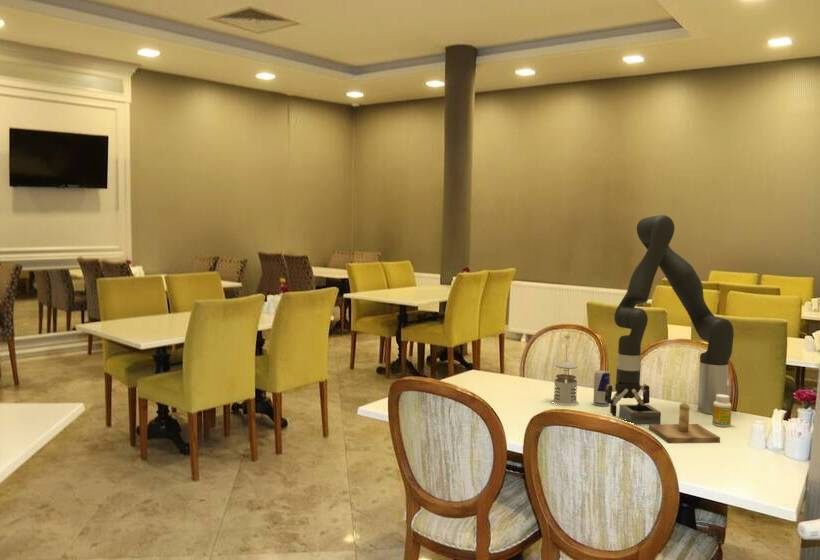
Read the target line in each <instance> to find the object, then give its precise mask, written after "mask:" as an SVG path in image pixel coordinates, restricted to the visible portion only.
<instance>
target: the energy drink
mask: <svg viewBox="0 0 820 560" xmlns="http://www.w3.org/2000/svg"><path fill="white" fill-rule="evenodd" d="M593 376H594V381H593V404H594V406H597V407H608V406H609V405H610V404H609V403H607V402H606V401H605V393H606V385H607V384H609V385H611V384H610V383H611V380H610V379H611V374H610V371H608V370H595V371H594V375H593Z"/></svg>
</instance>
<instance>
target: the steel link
mask: <svg viewBox="0 0 820 560" xmlns="http://www.w3.org/2000/svg"><path fill="white" fill-rule="evenodd" d="M637 404H638V403H637ZM637 404H633V403H632V404H619V410H618V411H619V412H618V416H619V418H621V417H622V418H623V419H622V418H621V419H622V420H624V419H626V421H628V422H631V423H634V424H636V425H637V424H639V425H638V426H641V424H661V423H662V422H661V420H662V419H661V418H662V417H661V416H662V414H661V411H659V410H658V409H656V408H655V407H653V406H651V405H650V403H648V404H647V403H646V404H644V406H643V411H637ZM626 421H625V422H626ZM628 422H627V423H628ZM636 425H635V426H636Z"/></svg>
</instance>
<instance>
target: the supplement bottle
mask: <svg viewBox="0 0 820 560" xmlns="http://www.w3.org/2000/svg"><path fill="white" fill-rule="evenodd" d="M716 400H717V401H715V402H714V403H713V414H712V419H711V420H712V425H713V426H717V427H721V428H728V427H730V426H731V423H732V422H731V417H732V404H731V402H730V398H729V396H728V395H723V394H717V395H716ZM728 401H729V402H728Z"/></svg>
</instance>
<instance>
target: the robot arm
mask: <svg viewBox="0 0 820 560" xmlns="http://www.w3.org/2000/svg"><path fill="white" fill-rule="evenodd" d="M674 233H675V223H674V221H673V219H672V218H671V217H670V216H668V215H666V214H659V215H653V216H648V217H644V218H641V219H640V220H639V221H638V223H637V224H636V234H637V236H638V238H639V240H640V241H641V244H642V245H643V247H645V248H646V249H647V250H646V252H645V254H644V256H643V258H642V259H641V261H640V262H639V263H638V265H637V266H636V267H635V269H634V271H633V272H632V275H631V276H630V279H629V284H628V287H627V290H626V294H625V295H624V296H623V297H622V299H621V301H620V302H619V304H618V306H617V307H616V310H615V312H614V322H615V325H616V326H617V327H619V328H622V329H630V332H629V334H628V335H621V336H620V337H619V338H618V346H617V347H618V349H617V350H618V351H617V358H616V376H615V377H616V378H615V379H616V381H615V384H610V385H609V384H607V385H606V393H605V401H606V402H607V403H609V405H610V409H609V411H610V414H611V415H612V417H617V404H618V402H619V401H621V400H622V398H623V399H635V401H636V403H637V411H643V406H644V404H650V402H651V401H650V386H649V385H648V384H646V383H644V384H642V385H641V368H642V359H641V353H642V352H641V349H642V341H643V337H644V334H645V331H646V330H647V327H648V322H649V319H648V313H647V312H646V311H645V309H644V308H640V307H639V308H638V307H636V305H638V304H644V303H647V302H648V300H649V297H650V295H651V294H650V293H651V291H652V287H653V284H654V283H653V282H654V279H655V276H656V274H657V272H658V269H659V268H660V270H661V271H662V273H663V274H664V277H665V278H666V280H667V281H668V284H669V285H670V287H671V288H672V290H673V292H674V294H675V295H676V296H677V298H678V300H679V301H680V303H681V305H682V306H683V308H684V310H685V311H686V312H687V315H688V317H689V319H690V320H691V323H692V325H693V327H694V330H695V331H696V334H697V335H698V337H699V338H700V339H701V340H703V341H705V342H707V343H708V344H707V349H706V351H703V352H702V353H700V355H699V368H698V370H699V371H698V391H697V393H698V394H697V409H698V410H699V411H698V410H697V411H698V412H700V411H701V412H700V413H704V414H707V415H713V403H714V402H715V401H717V400H716V395H717V394H723V395H728V396H729V399H730V397H731V386H730V385H728V383H729V381H728V380H729V362H730V358H731V356H732V354H733V346H734V337H735V336H734V335H735V333H734V332H735V331H734V326H733V324H732V321H730V320H728V319H727V318H723V317H718V316H715V315H714V314H713V313H712V311H711V310H710V308H709V307H708V305H707V303H706V300H705V298H704V287H703V283H702V281H701V278H700V277H699V275H698V274H697V272H696V271H695V268H694V267H693V266H692V265H691V264H690V262H688V261H687V260H685V259H684V257H682V256H681V255H680V254H678V253H677V252H675V251H674V250H673V249H672V248H671V247H670V246H669V245H670V243H671V241H672V238H673V237H674ZM614 390H615V391H616V392H615V393H614V395H612V394H613V392H614ZM640 391H642V397H641V396H640V395H639V392H640ZM612 396H613V397H612ZM728 402H729V403H730V400H729V401H728Z"/></svg>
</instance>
